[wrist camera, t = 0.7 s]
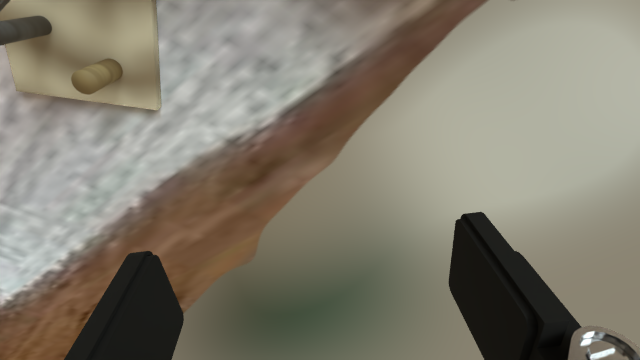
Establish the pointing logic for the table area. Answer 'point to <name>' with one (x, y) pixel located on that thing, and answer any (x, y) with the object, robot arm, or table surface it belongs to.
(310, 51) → the table surface
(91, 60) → the cream peg board
